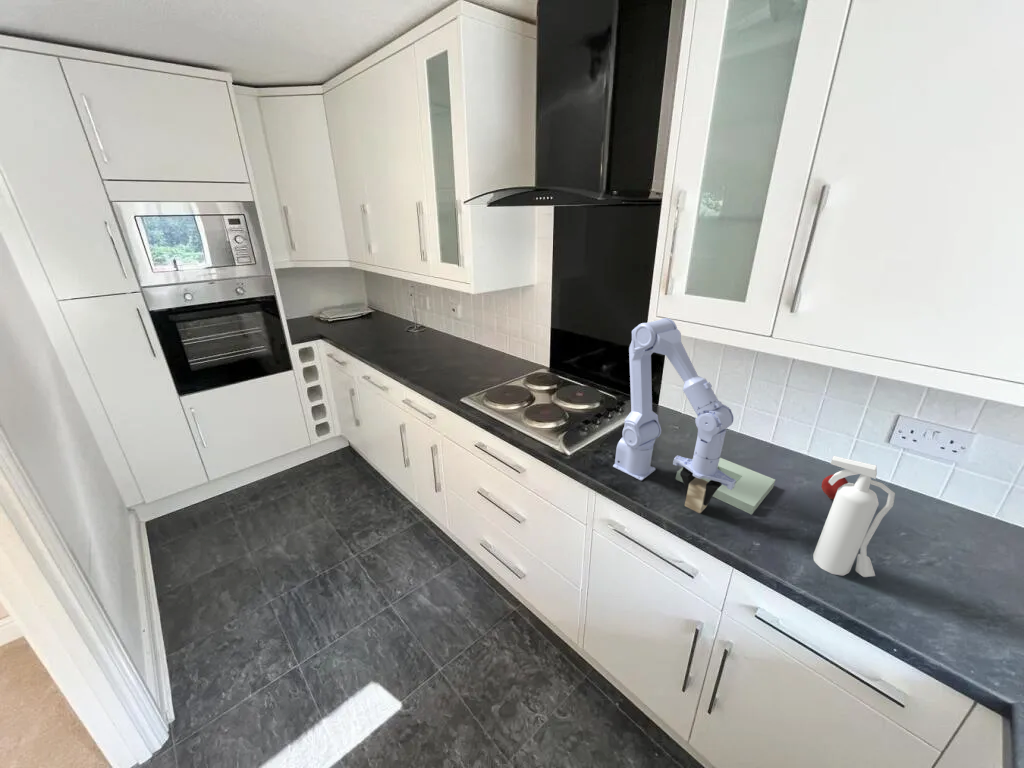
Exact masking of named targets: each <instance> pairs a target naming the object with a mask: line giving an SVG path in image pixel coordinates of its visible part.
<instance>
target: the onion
mask: <svg viewBox="0 0 1024 768" xmlns="http://www.w3.org/2000/svg"><path fill="white" fill-rule="evenodd" d="M834 474H835V473H833V474H830V475H828V476H825V478H823V479H822V481H821V490H822V491H823V493H824V495H826V496H827V497H828V499H830V500H834V498H835V496H836V493H837V490H838V488H839V487H841V486H842V485H844V484H847V483H849V481H848V480H847V478H846V477H844V478H842V479H839V480H837V481H836V482H835V483H834V484H833V485H831V484H830V483H829V482H828V481H829V480H830V478H831V477H832V476H833V475H834Z"/></svg>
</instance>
